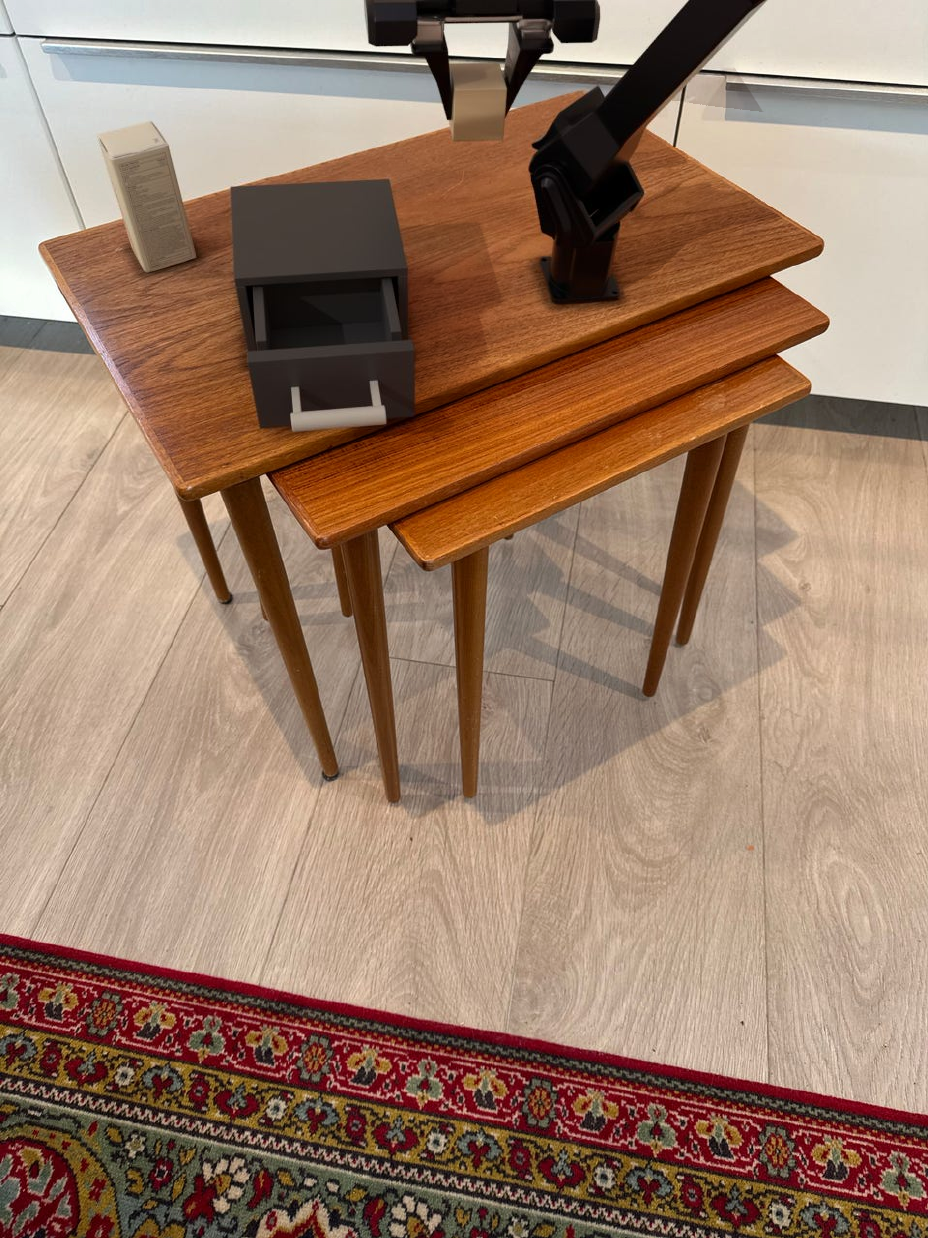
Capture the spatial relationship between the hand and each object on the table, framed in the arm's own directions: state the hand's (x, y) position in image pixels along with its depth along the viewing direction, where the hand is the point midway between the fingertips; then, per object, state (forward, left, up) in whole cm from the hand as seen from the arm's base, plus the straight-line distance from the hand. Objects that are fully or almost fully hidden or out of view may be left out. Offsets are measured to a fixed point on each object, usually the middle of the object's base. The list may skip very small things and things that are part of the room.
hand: (475, 116), depth 81 cm
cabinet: (-11, +15, -11) cm, 22 cm away
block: (0, 0, -1) cm, 1 cm away
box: (-1, +29, -11) cm, 31 cm away
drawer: (-23, +15, -10) cm, 29 cm away
